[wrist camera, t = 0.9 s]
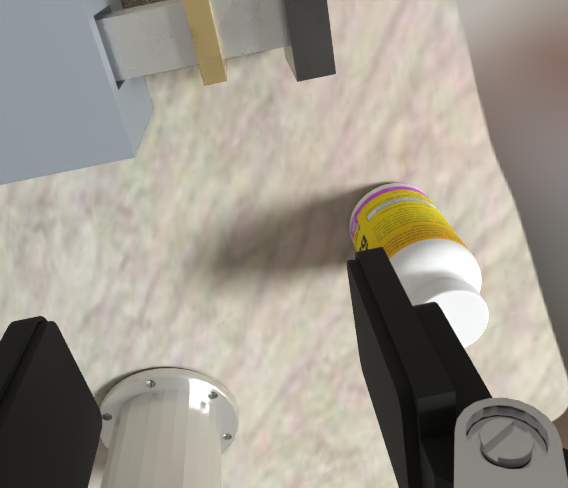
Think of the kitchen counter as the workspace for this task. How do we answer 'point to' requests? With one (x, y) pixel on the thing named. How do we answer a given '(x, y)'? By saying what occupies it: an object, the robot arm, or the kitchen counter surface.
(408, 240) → the supplement bottle
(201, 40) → the shaft
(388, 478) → the kitchen counter surface
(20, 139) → the housing
